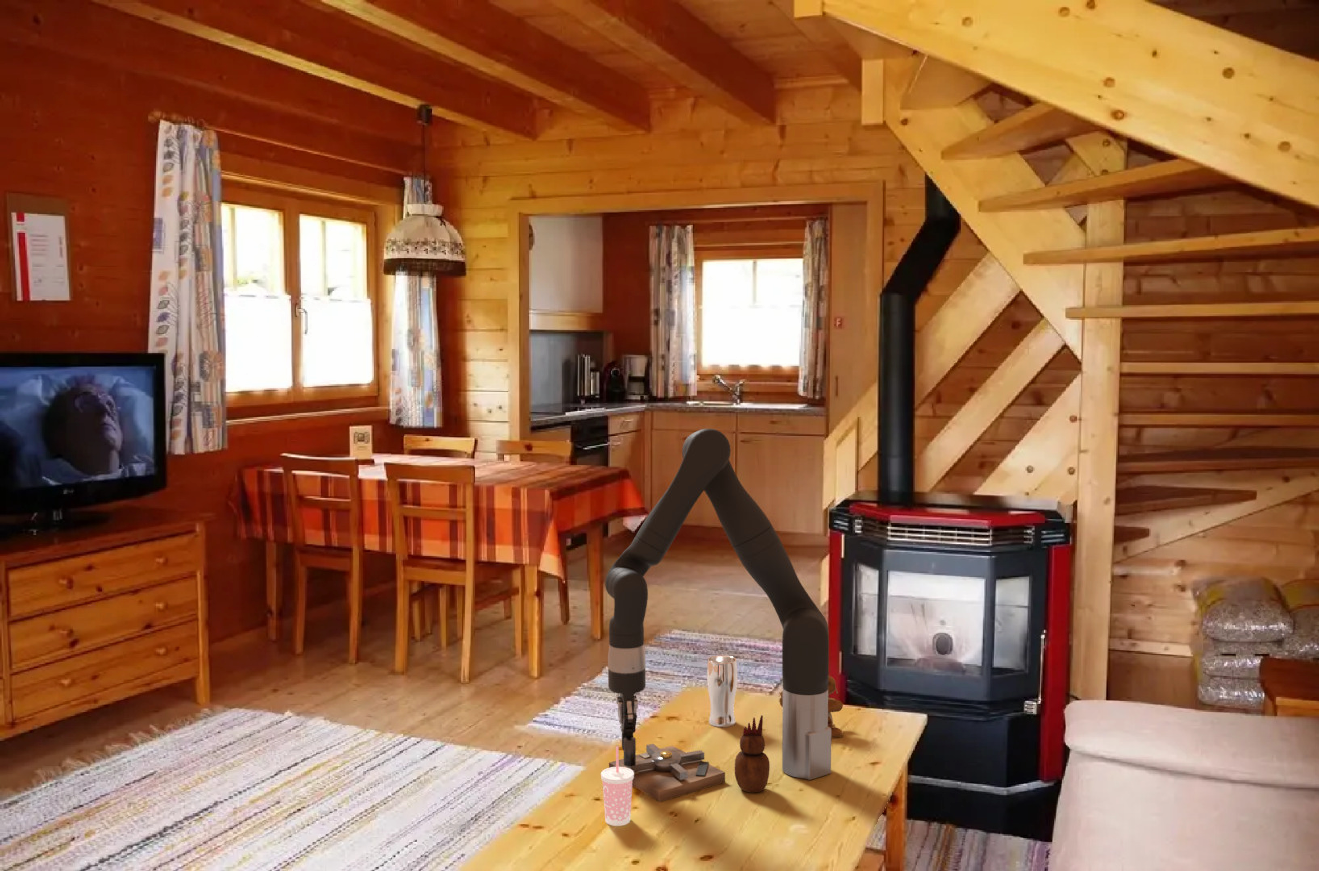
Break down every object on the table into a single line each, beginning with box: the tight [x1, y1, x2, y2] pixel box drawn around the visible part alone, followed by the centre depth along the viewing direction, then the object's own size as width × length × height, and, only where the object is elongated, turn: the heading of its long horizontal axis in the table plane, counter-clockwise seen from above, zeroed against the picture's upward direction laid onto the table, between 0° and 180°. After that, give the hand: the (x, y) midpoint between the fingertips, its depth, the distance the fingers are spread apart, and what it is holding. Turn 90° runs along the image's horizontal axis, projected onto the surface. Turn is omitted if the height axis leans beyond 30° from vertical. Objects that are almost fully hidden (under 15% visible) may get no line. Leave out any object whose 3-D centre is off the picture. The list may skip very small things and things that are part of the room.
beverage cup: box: [600, 745, 634, 827], centre depth 200 cm, size 6×6×14 cm
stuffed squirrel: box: [778, 675, 844, 739], centre depth 246 cm, size 10×14×13 cm
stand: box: [608, 745, 726, 803], centre depth 220 cm, size 18×16×2 cm
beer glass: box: [706, 654, 738, 728], centre depth 251 cm, size 7×7×15 cm
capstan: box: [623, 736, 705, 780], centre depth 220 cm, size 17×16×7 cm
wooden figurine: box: [734, 715, 771, 794], centre depth 213 cm, size 7×6×15 cm
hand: (627, 749), depth 220 cm, fingers closed
